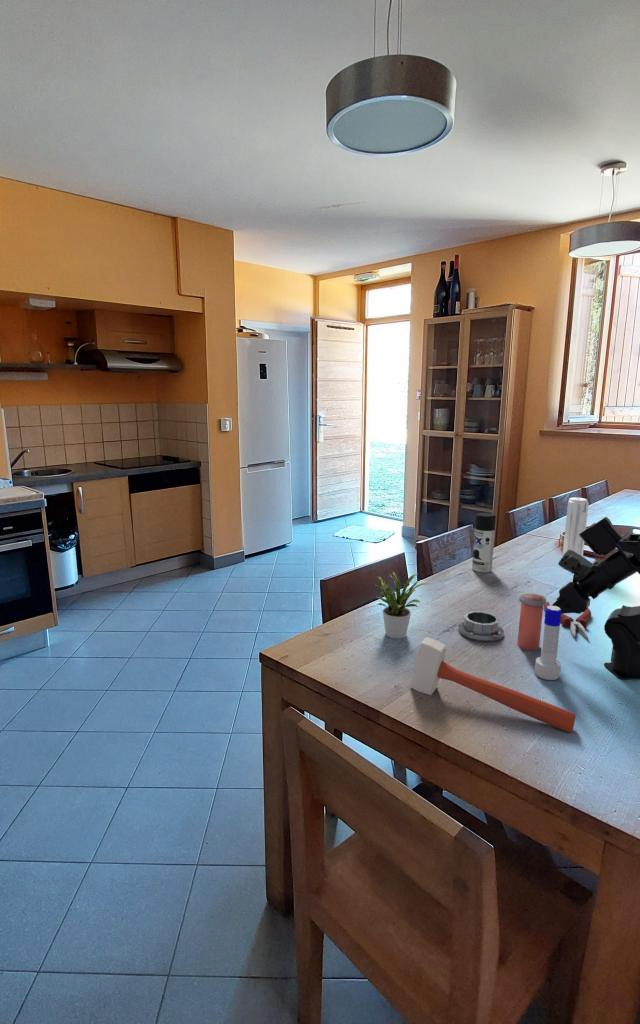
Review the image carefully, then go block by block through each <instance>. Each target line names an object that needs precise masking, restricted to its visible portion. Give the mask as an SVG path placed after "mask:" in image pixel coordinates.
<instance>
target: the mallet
mask: <svg viewBox="0 0 640 1024" xmlns="http://www.w3.org/2000/svg"><path fill="white" fill-rule="evenodd" d="M446 651H447V646H446V644H444V643H442V642H440V641H438V640H437V639H433V638H431V637H427V636H425V638H424V639H423V640H422V641H421V642H420V647H419V650H418V652H417V655H416V658H415V661H414V664H413V665H414V666H413V675H412V678H411V680H410V684H409V687H410V688H411V689H413V690H415V691H417V692H419V693H422V694H426V695H429V696H431V695H433V693H434V692H435V690H437V688H438V686H439V682H440V679H441V680H445V681H446V680H447V681H450V682H453V683H455V684H457V685H458V684H459V685H460V686H462V687H465V688H467V689H470V690H471V691H474V692H476V693H478V694H480V695H482V696H484V697H487V698H488V699H490V700H493V701H495V702H497V703H499V704H501V705H503V706H505V707H508V708H510V709H512V710H514V711H516V712H519V713H521V714H524V715H526V716H528V717H530V718H533V719H535V720H537V721H540V722H542V723H545V724H546V725H549V726H552V727H554V728H557V729H558V730H562V731H564V732H566V733H569V734H570V733H572V731H573V730H574V726H575V723H576V717H577V715H576V713H574V712H572V711H569V710H566V709H564V708H562V707H559V706H556V705H554V704H552V703H549V702H546V701H543V700H541V699H538V698H536V697H533V696H530V695H528V694H525V693H522V692H520V691H517V690H515V689H512V688H509V687H506V686H503V685H501V684H498V683H495V682H492V681H489V680H486V679H483V678H481V677H477V676H475V675H472V674H469V673H467V672H464V671H462V670H460V669H457V668H455V667H454V666H452V665H450V664H449V663H447V662H446V661H445V656H446Z"/></svg>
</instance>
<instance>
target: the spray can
mask: <svg viewBox="0 0 640 1024" xmlns="http://www.w3.org/2000/svg"><path fill="white" fill-rule="evenodd" d="M495 532H496V514H494V513H489V512H480V513H476V514H475V522H474V534H473V535H474V536H473V537H474V538H473V550H472V564H471V565H472V566H471V568H472V571H474V572H475V573H476V572H477V573H480V574H488V573H491V572H492V570H493V559H494V557H493V556H494V544H495Z"/></svg>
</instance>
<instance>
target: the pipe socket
mask: <svg viewBox="0 0 640 1024" xmlns="http://www.w3.org/2000/svg"><path fill="white" fill-rule="evenodd" d="M457 629H458V633H459V634H460V635H461V636H463V637H464V638H466V639H468V640H471V641H476V642H480V643H481V642H482V643H492V642H497V641H501V640H502V639H503V638H504V636H505V635H504V632H505V630H504V628H503V627H501V625H500V618H499V617H498V615H495V614H493V613H491V612H488V611H480V610H473V611H472V610H471V611H469V612H465V614H464V615H463V620H462V621H461V622H460V623H459V624H458V628H457Z"/></svg>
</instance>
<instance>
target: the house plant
mask: <svg viewBox="0 0 640 1024" xmlns="http://www.w3.org/2000/svg"><path fill="white" fill-rule="evenodd" d="M392 574H393V576H392ZM392 574H390V573H388V575H389V576H390V577H391V578H392V580H393V583H394V586H395V590H391V588H390V586H389V584H388V583H387V582H386V580H384V579H383V578H382V577H381V576H379V575H377V578H378V579H379V580H380V584H381V586H379V585H377V584H376V586H377V587H380V589H381V591H382V592H381V593H379V595H383V596H384V598H383V597H380V596H376V598H377V599H379V600H381V601H382V602H383V603H382V602H380V603H377V604H376V606H383V607H385V608H383V609H382V615H383V623H384V631H385V635H386V636H387V637H389V638H391V639H395V640H397V639H403V638H405V637H406V636H407V633H408V629H409V623H410V618H411V613H412V611H411V610H410V609H408V607H416V608H418V609H419V607H418V605H417V604H415V603H419V604H421V601H420V600H418V599H412V600H410V601H408V600H409V599H410V597H411V595H412V594H413V593H414V592H416V589H417V588H419V587H420V586H424V585H429V583H426V582H425V583H424V582H423V583H420V582H421V581H419V580H418V581H416V582H413V584H412V585H411V586H410V587H409V585H410V584H411V583H412V581H413V579H414V578H415V576H417V575H418V574H419V573H415V574H412V575H410V577H409V578H407V580H406V581H405V583H404V584H403V586H402V587H403V588H402V590H401V583H400V579H399V577H398V575H397V574H396V573H395V572H394V571H392ZM418 583H420V584H418ZM408 587H409V588H408ZM407 601H408V603H407ZM384 603H386V604H387V605H386V604H384Z"/></svg>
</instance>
